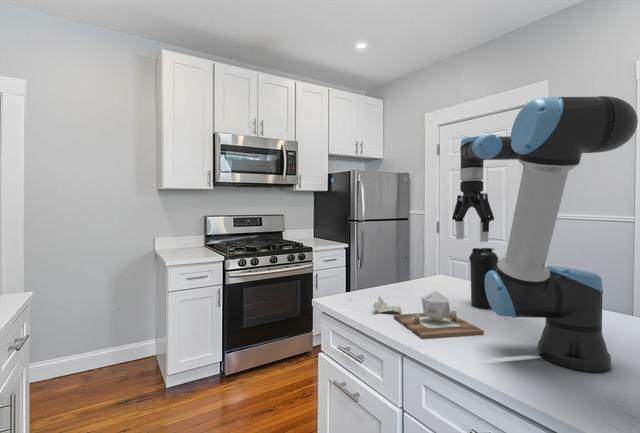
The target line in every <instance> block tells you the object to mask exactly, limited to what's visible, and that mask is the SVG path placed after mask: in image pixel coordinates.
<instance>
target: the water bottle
mask: <svg viewBox="0 0 640 433" xmlns="http://www.w3.org/2000/svg"><path fill="white" fill-rule="evenodd" d="M495 250H496V249H495V248H489V247H481V248H480V247H479V248H478V247H473V248H472V250H471V251H472V252H471V253H470V255H469V256H468V259H469V263H470V264H469V265H470V268H469V269H470V270H469V271H470V305H471V307H472V308H476V309H480V310H487V311H488V310H492V308H491V306H490V304H489V302H488V299H487V296H486V291H485V275H486V273H487V272H488V271H491V270H494V271H496V268H497V263H498V261H499V257H498V254H497V253H495V252H494V251H495Z"/></svg>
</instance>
